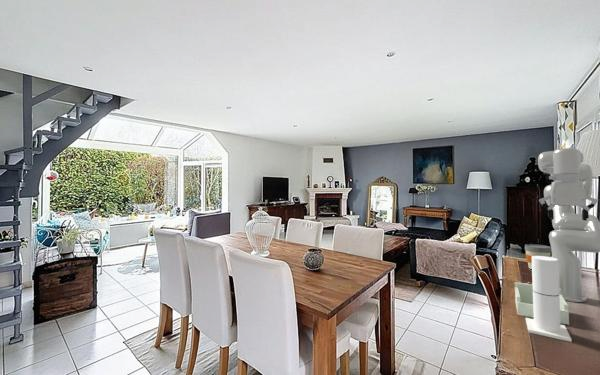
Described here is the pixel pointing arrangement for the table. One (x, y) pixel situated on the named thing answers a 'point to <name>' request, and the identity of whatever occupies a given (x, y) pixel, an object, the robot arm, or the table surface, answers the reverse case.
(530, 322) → the tile
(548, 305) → the cylindrical container
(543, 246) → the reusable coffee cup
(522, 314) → the frame
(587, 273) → the table surface
